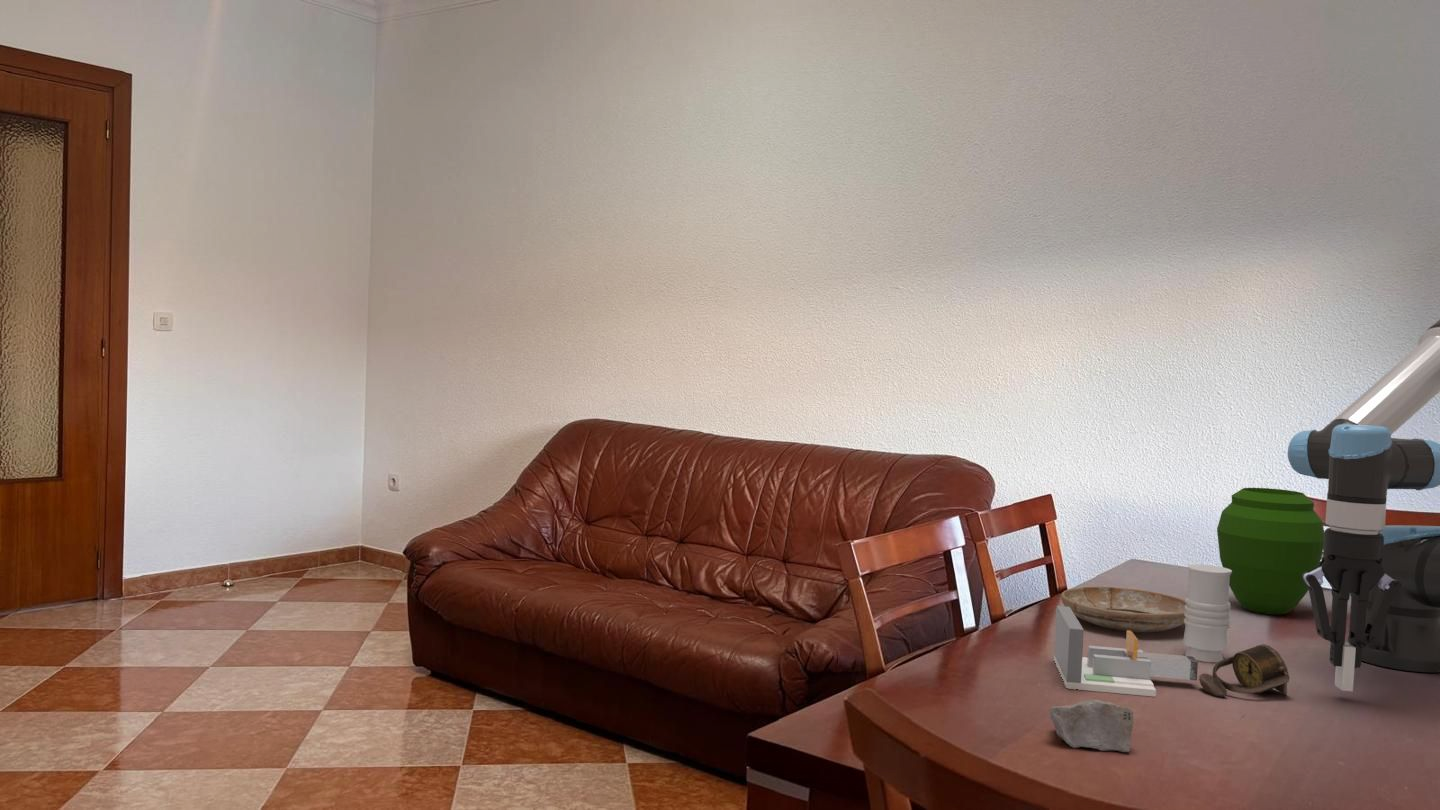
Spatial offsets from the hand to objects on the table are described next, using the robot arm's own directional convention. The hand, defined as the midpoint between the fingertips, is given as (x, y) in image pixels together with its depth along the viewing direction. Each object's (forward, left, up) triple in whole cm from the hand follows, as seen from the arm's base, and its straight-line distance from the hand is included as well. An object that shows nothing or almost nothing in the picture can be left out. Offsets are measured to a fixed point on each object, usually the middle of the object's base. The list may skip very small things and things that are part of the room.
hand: (1343, 688), depth 155 cm
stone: (+40, +30, -2) cm, 50 cm away
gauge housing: (+34, 0, -2) cm, 34 cm away
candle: (+15, -18, -2) cm, 23 cm away
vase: (-7, -60, -2) cm, 60 cm away
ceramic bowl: (+24, -38, -2) cm, 45 cm away
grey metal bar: (+26, +1, 0) cm, 26 cm away
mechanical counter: (+14, 0, -2) cm, 14 cm away
